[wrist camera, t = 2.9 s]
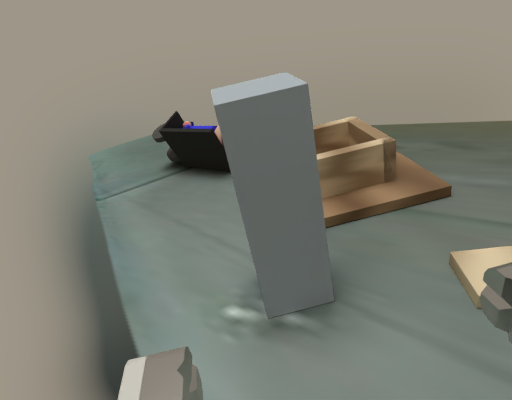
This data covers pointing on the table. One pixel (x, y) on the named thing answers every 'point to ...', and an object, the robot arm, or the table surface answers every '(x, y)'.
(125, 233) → the table surface
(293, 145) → the block
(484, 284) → the wing slat
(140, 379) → the robot arm
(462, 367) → the table surface
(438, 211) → the table surface
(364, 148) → the cradle jig
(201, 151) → the character figurine
